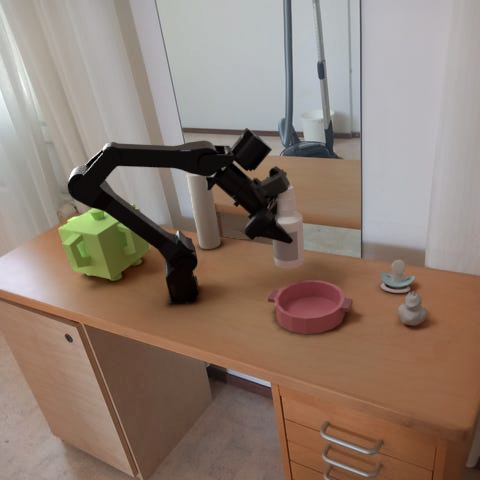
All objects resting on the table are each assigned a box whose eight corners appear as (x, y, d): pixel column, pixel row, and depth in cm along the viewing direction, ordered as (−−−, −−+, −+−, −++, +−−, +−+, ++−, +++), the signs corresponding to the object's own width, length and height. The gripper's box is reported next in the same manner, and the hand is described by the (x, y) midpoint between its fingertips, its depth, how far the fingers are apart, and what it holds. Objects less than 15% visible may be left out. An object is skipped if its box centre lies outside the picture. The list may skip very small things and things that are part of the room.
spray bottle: (270, 259, 115) (264, 184, 105) (297, 252, 116) (295, 178, 106) (279, 272, 109) (275, 195, 99) (308, 265, 110) (306, 188, 100)
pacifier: (409, 297, 107) (416, 282, 111) (411, 273, 103) (418, 258, 107) (376, 292, 110) (383, 278, 114) (376, 268, 106) (384, 254, 110)
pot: (260, 327, 104) (258, 312, 102) (282, 291, 115) (281, 276, 113) (342, 339, 97) (342, 323, 95) (358, 300, 108) (358, 284, 106)
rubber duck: (393, 327, 99) (395, 293, 94) (403, 309, 103) (405, 276, 98) (421, 333, 96) (425, 298, 92) (429, 314, 100) (433, 281, 96)
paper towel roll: (213, 251, 136) (200, 176, 124) (195, 248, 139) (181, 174, 127) (227, 239, 141) (215, 166, 129) (209, 237, 144) (197, 164, 132)
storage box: (115, 298, 122) (94, 235, 112) (52, 283, 132) (29, 225, 123) (173, 252, 139) (160, 194, 129) (114, 242, 149) (97, 187, 139)
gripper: (255, 176, 93) (314, 229, 96) (272, 146, 107) (323, 193, 111) (220, 215, 99) (277, 264, 103) (241, 182, 114) (290, 225, 117)
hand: (293, 235), depth 108 cm, fingers closed on spray bottle, 7 cm apart
